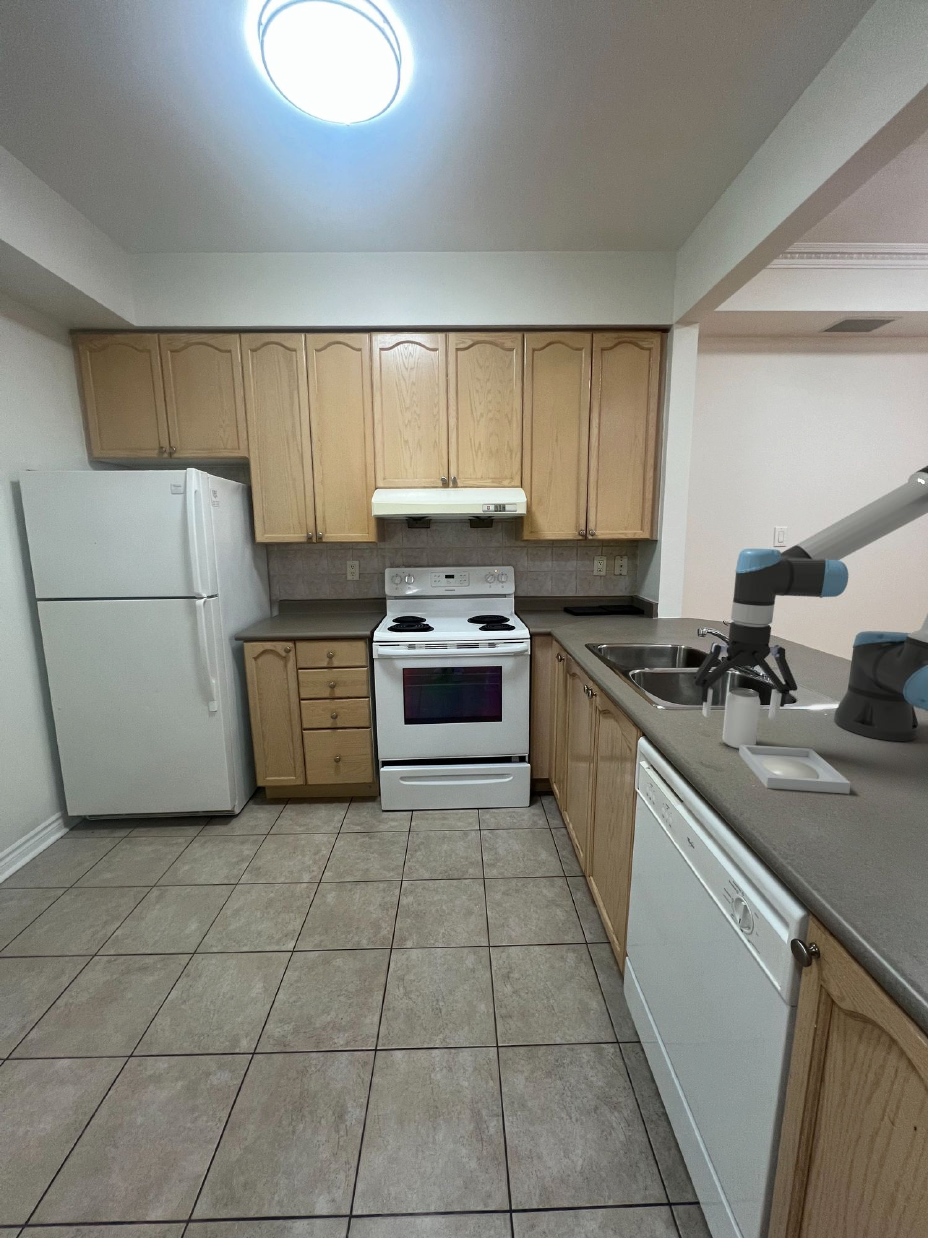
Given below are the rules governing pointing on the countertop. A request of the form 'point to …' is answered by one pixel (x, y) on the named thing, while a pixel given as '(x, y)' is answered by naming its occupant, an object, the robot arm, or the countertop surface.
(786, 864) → the countertop surface
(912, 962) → the countertop surface
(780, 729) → the countertop surface
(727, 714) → the can
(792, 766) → the flange tray
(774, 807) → the countertop surface
